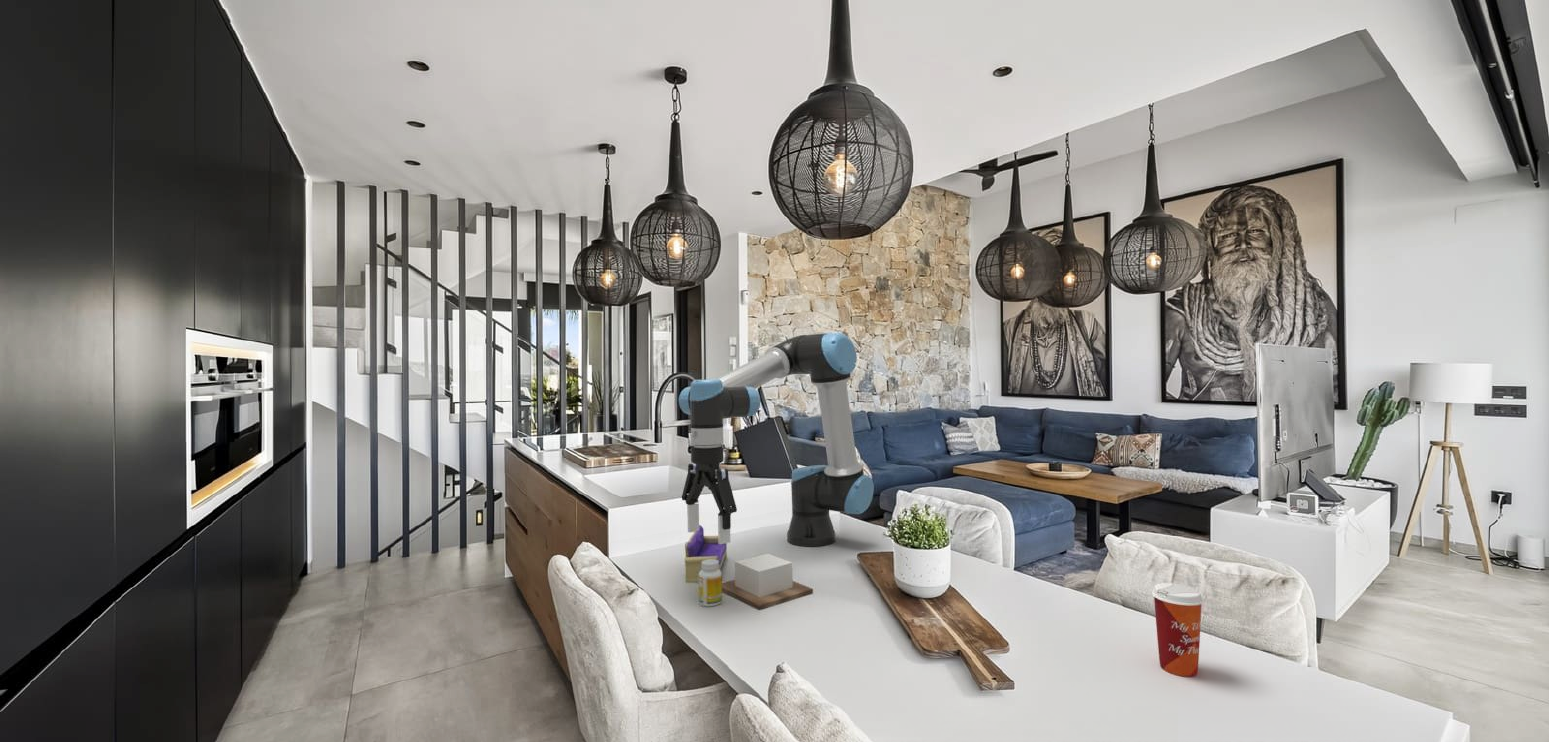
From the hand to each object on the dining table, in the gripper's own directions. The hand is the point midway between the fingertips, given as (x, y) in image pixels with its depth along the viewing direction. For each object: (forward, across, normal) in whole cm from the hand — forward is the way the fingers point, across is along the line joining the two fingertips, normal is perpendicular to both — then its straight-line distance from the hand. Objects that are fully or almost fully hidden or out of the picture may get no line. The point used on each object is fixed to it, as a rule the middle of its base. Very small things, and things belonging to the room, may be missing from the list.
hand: (708, 537), depth 146 cm
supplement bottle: (+16, 0, 0) cm, 16 cm away
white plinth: (+15, +2, +14) cm, 21 cm away
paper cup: (+15, +81, +46) cm, 94 cm away
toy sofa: (+16, -21, +12) cm, 29 cm away
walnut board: (+15, +2, +14) cm, 21 cm away
